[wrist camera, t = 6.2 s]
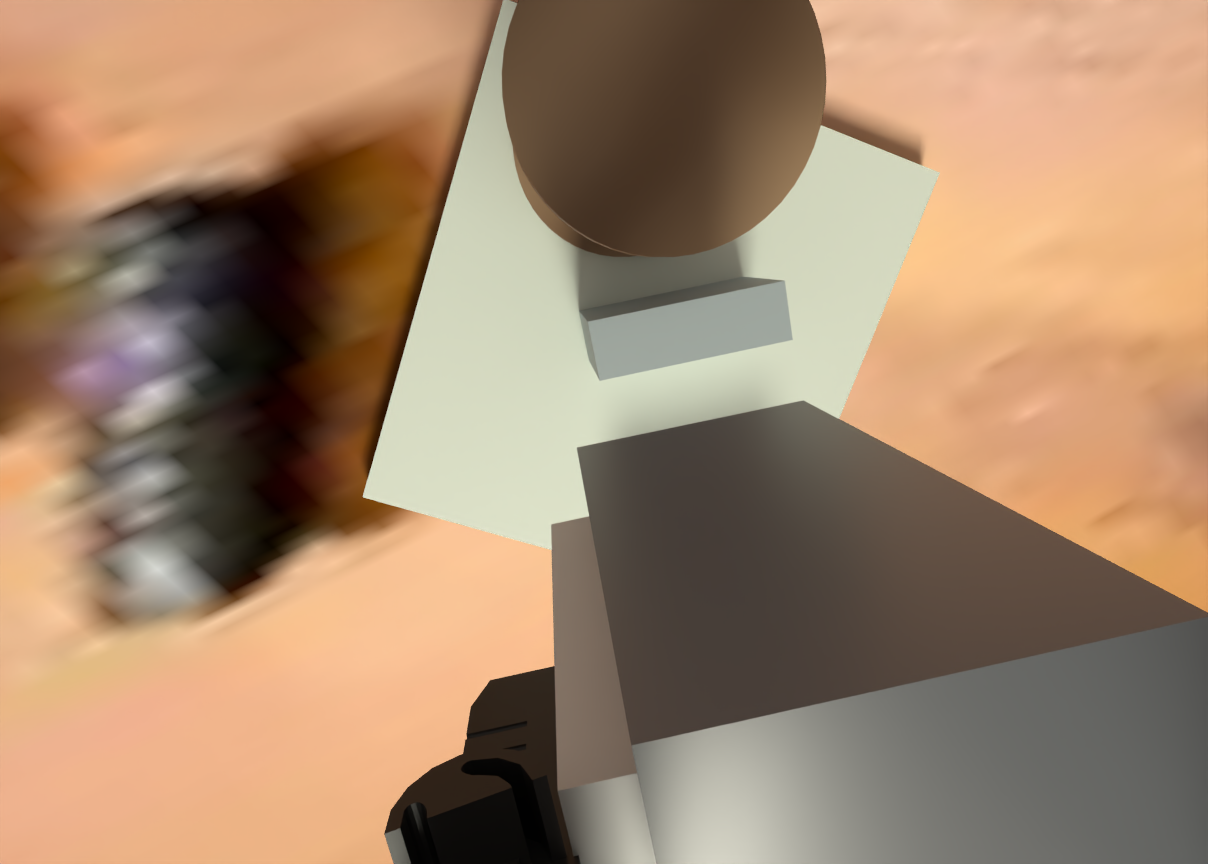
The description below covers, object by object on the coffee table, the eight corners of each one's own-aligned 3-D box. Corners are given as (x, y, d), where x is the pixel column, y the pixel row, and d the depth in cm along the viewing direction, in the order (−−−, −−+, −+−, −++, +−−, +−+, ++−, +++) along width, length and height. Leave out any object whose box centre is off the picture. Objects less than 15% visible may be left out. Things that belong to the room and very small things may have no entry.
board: (368, 488, 28) (362, 497, 27) (505, 8, 24) (503, -2, 24) (754, 597, 30) (761, 608, 29) (925, 175, 27) (939, 172, 26)
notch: (631, 569, 28) (649, 625, 24) (578, 310, 26) (587, 321, 22) (781, 535, 29) (825, 585, 24) (743, 276, 26) (784, 280, 22)
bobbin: (486, 216, 25) (460, 194, 16) (551, -5, 24) (561, -158, 15) (682, 285, 26) (756, 299, 17) (755, 78, 25) (875, -19, 16)
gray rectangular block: (629, 701, 14) (741, 1269, 6) (576, 447, 13) (631, 744, 5) (836, 655, 14) (1210, 1154, 6) (803, 400, 13) (1213, 615, 5)
